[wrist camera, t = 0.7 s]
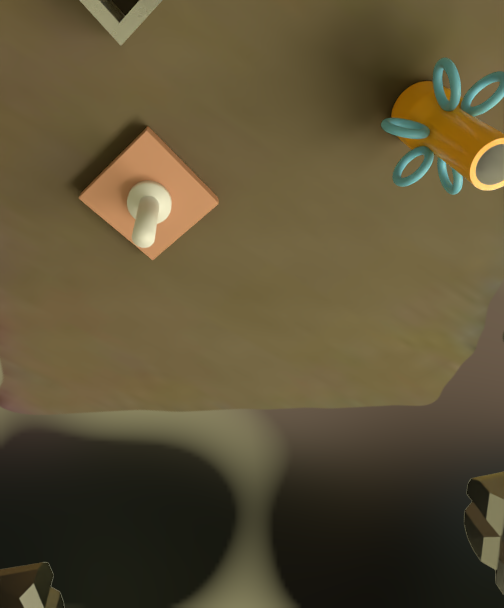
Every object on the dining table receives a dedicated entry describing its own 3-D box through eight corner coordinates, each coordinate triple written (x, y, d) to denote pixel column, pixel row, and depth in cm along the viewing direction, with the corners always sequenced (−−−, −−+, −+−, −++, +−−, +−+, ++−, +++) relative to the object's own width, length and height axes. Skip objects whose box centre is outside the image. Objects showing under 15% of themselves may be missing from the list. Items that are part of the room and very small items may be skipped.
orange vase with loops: (404, 188, 52) (468, 257, 40) (340, 128, 47) (390, 186, 35) (498, 96, 47) (603, 143, 35) (437, 19, 42) (534, 43, 30)
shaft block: (147, 125, 45) (138, 159, 37) (218, 197, 50) (222, 240, 43) (81, 192, 48) (60, 235, 41) (153, 253, 53) (147, 302, 46)
